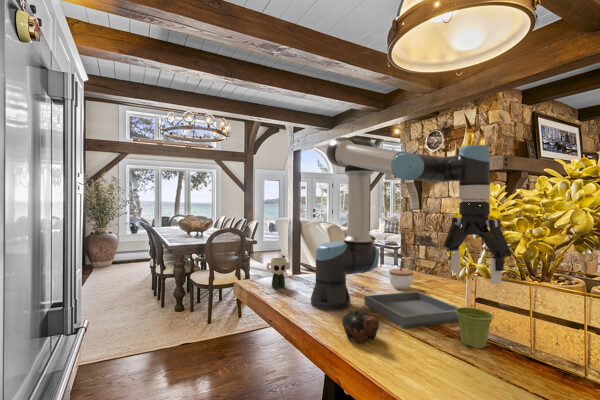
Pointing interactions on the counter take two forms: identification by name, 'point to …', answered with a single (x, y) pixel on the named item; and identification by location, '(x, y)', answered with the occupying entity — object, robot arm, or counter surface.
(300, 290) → the counter surface
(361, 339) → the decorative turtle
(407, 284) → the lidded jar
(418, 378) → the counter surface
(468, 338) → the plant pot
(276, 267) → the character mug
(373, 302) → the walled tray
